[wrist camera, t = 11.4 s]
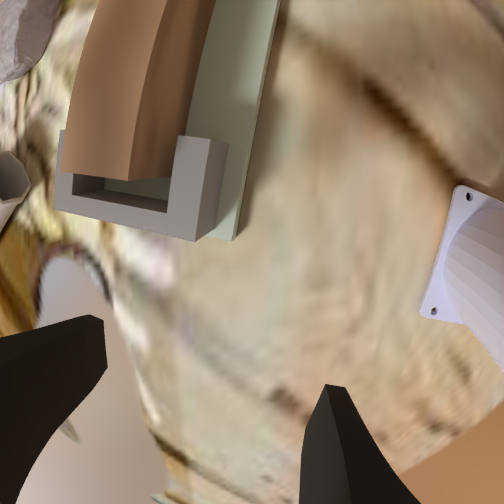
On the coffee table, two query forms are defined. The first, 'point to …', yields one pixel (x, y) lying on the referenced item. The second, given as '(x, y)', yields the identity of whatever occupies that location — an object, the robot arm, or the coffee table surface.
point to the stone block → (24, 34)
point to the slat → (134, 87)
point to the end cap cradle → (195, 140)
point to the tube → (11, 185)
